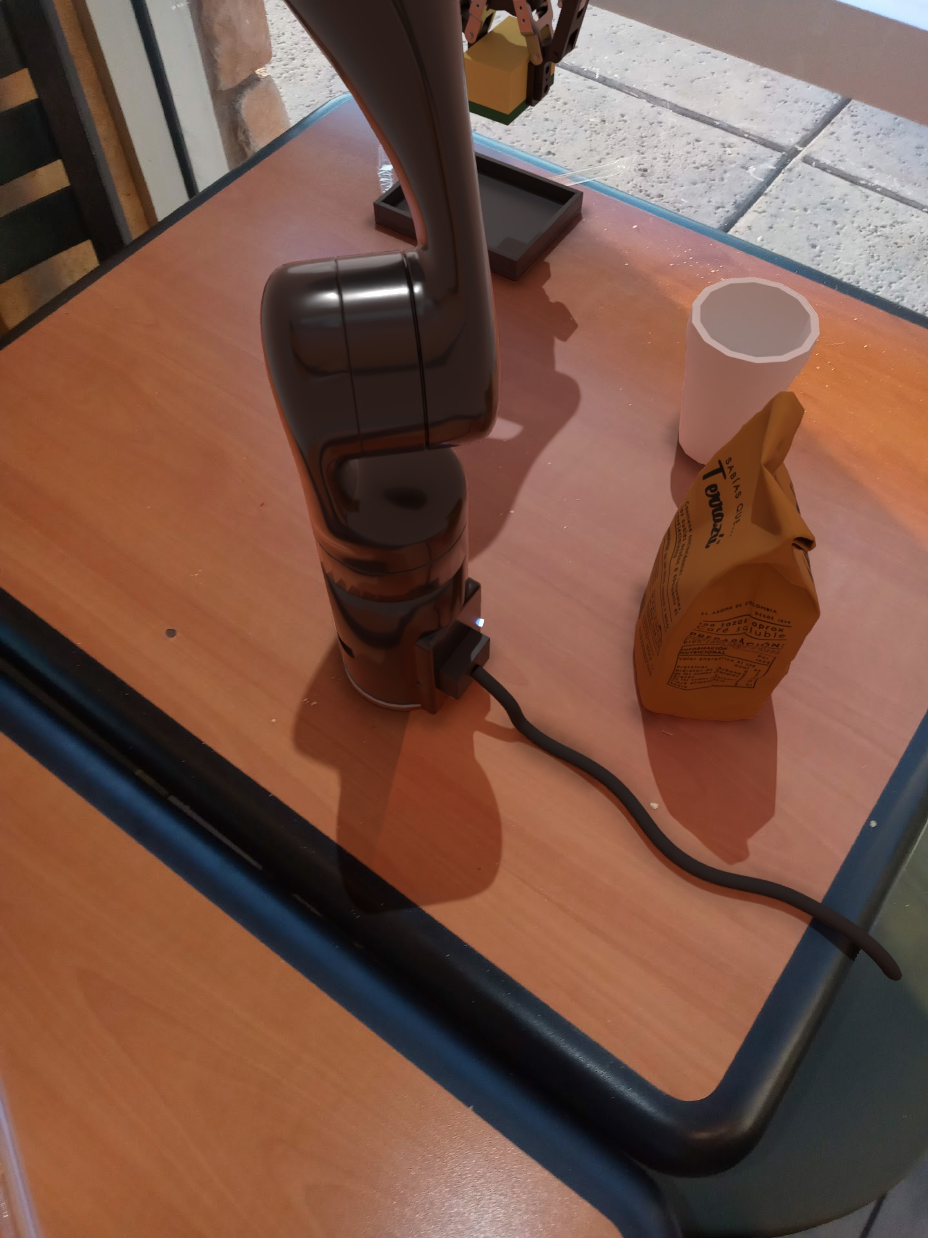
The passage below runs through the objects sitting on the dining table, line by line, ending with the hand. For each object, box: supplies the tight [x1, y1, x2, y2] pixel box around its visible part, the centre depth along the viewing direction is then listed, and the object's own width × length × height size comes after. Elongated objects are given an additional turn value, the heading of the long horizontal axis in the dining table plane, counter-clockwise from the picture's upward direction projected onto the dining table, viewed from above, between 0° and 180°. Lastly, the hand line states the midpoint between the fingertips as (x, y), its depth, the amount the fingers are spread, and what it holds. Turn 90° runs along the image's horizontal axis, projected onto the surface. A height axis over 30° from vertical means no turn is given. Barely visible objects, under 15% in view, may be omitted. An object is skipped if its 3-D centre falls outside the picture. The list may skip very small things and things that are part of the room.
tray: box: [372, 151, 585, 282], centre depth 94 cm, size 17×13×2 cm
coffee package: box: [633, 390, 821, 722], centre depth 58 cm, size 10×12×22 cm
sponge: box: [464, 15, 556, 127], centre depth 80 cm, size 8×5×4 cm, turn 147°
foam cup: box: [678, 276, 821, 466], centre depth 73 cm, size 10×9×13 cm
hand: (508, 91), depth 81 cm, fingers closed on sponge, 5 cm apart
